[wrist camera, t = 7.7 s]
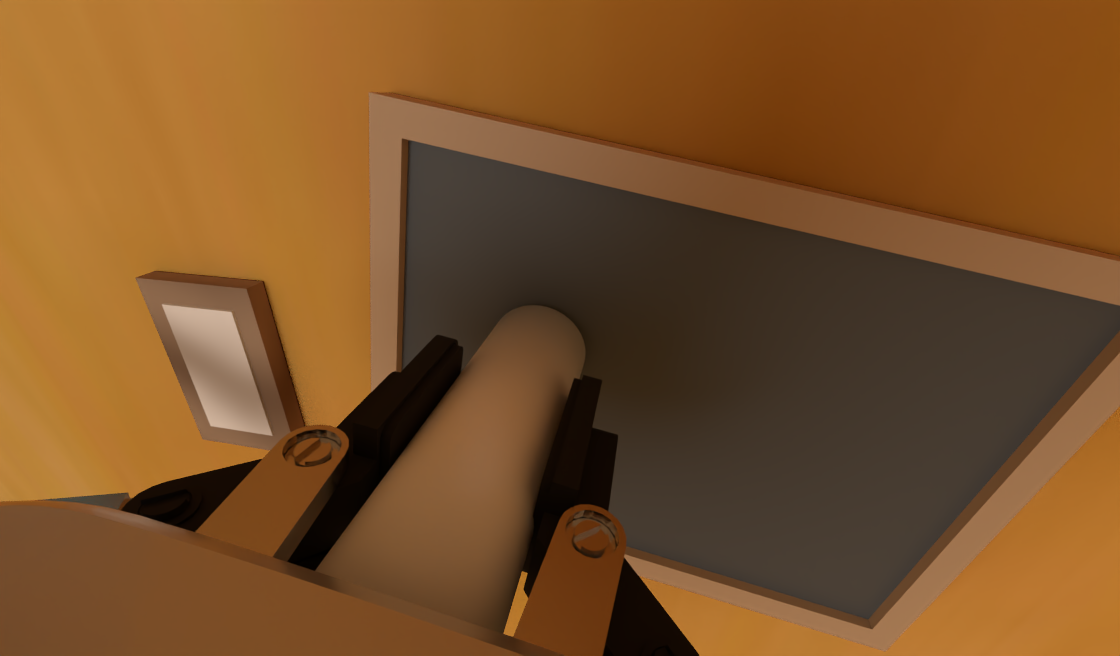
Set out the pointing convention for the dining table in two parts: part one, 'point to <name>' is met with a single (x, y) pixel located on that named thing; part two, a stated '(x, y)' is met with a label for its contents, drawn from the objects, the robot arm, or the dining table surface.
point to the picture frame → (225, 356)
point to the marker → (469, 478)
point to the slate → (756, 353)
